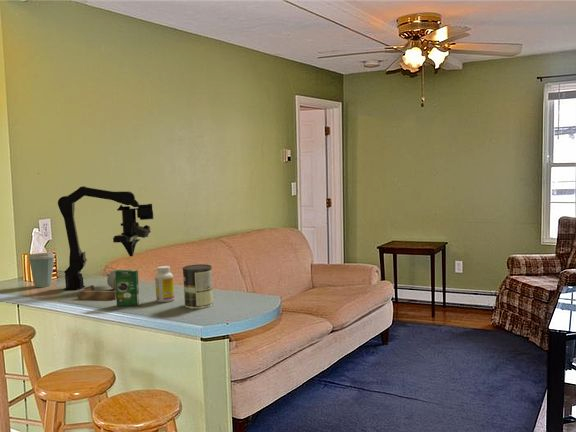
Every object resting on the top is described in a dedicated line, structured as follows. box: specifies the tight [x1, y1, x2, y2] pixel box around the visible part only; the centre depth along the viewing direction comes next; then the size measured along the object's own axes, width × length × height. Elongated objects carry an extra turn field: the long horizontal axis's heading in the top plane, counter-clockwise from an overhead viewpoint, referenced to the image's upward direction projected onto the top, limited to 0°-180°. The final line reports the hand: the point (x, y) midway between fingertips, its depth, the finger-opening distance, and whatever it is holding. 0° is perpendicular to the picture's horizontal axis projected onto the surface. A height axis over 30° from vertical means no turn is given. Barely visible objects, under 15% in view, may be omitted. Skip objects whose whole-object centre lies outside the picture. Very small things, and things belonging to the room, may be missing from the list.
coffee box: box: [114, 269, 140, 307], centre depth 213 cm, size 8×3×13 cm, turn 87°
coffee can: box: [182, 263, 214, 310], centre depth 209 cm, size 10×10×14 cm
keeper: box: [77, 284, 116, 301], centre depth 231 cm, size 18×11×3 cm, turn 76°
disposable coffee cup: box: [28, 252, 56, 288], centre depth 256 cm, size 11×11×15 cm
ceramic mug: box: [106, 270, 116, 290], centre depth 243 cm, size 11×8×8 cm
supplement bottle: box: [154, 265, 175, 303], centre depth 218 cm, size 7×7×13 cm
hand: (131, 256), depth 252 cm, fingers closed
